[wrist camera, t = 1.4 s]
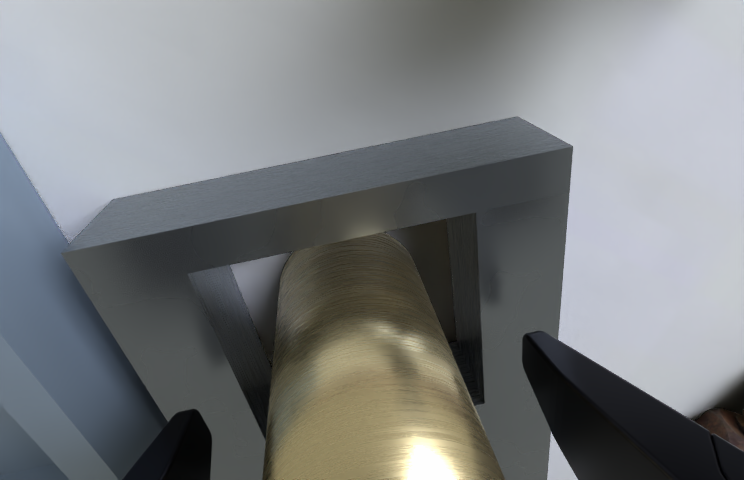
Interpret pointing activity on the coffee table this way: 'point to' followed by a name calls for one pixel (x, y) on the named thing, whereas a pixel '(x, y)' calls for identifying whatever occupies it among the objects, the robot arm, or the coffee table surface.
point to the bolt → (724, 425)
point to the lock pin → (367, 374)
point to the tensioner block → (324, 226)
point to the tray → (59, 357)
